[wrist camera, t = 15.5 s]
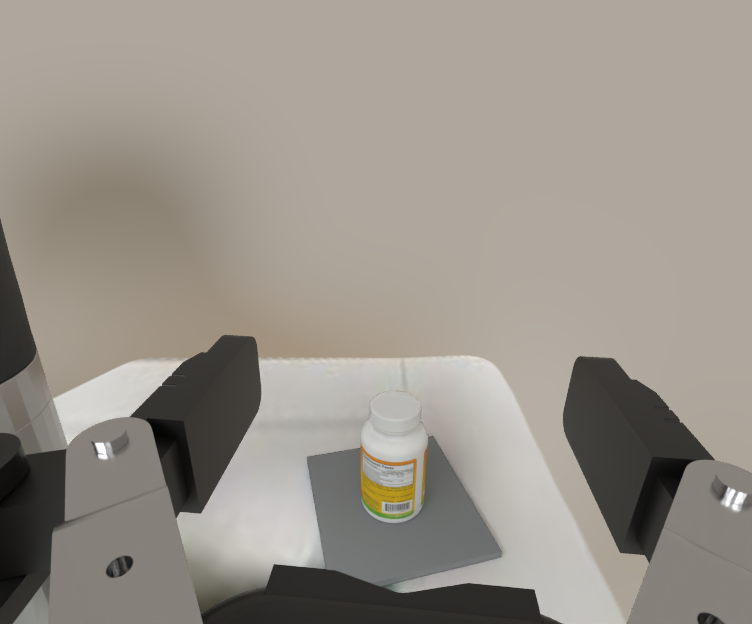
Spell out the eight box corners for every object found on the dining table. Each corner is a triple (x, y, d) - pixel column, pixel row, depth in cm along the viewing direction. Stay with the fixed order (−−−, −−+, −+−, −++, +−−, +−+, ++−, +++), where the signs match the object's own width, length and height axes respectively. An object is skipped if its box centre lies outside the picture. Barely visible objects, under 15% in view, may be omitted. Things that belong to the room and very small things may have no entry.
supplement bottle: (389, 468, 42) (392, 378, 38) (436, 499, 38) (444, 403, 34) (347, 500, 38) (346, 404, 34) (395, 537, 34) (399, 435, 31)
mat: (330, 598, 31) (330, 592, 30) (307, 461, 43) (307, 456, 43) (500, 557, 34) (501, 551, 33) (432, 440, 46) (433, 435, 46)
